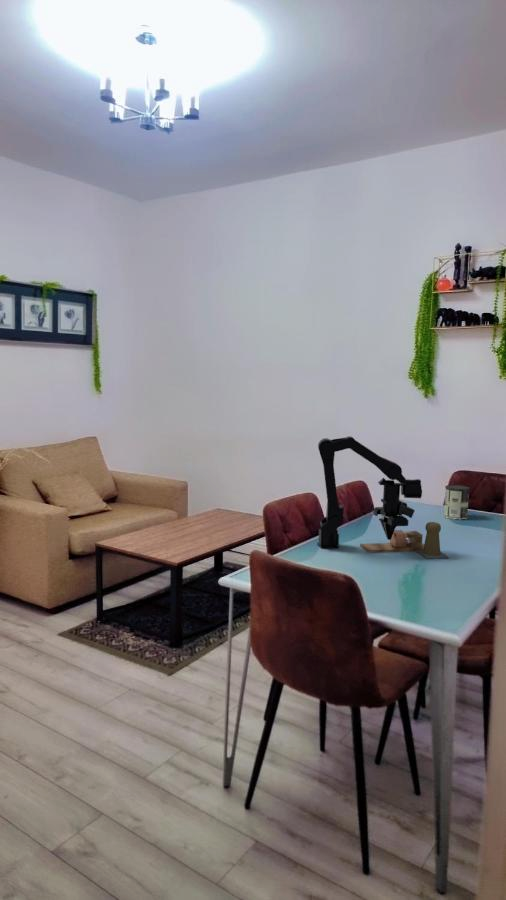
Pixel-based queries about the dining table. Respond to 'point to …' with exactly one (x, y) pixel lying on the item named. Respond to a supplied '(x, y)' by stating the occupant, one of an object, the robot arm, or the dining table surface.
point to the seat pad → (441, 556)
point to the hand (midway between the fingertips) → (389, 539)
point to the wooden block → (399, 539)
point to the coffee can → (456, 502)
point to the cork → (432, 539)
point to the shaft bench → (387, 547)
